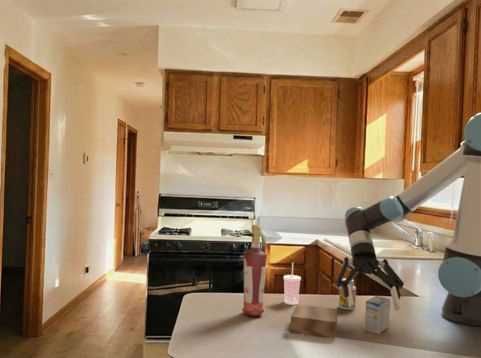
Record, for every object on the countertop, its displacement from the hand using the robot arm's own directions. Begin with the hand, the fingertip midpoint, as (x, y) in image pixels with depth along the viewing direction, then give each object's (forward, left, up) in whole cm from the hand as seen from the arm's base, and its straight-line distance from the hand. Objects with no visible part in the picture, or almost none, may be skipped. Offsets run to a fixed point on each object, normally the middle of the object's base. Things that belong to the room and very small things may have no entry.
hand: (374, 307), depth 119 cm
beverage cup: (+25, -19, -6) cm, 32 cm away
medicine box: (-1, 0, -6) cm, 6 cm away
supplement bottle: (+6, -19, -6) cm, 21 cm away
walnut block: (+17, +5, -6) cm, 19 cm away
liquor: (+36, -2, -6) cm, 37 cm away
